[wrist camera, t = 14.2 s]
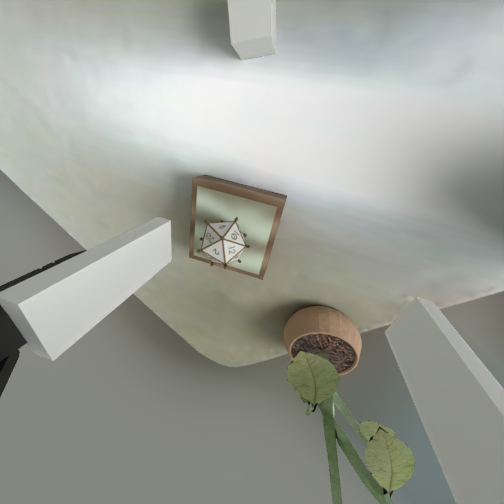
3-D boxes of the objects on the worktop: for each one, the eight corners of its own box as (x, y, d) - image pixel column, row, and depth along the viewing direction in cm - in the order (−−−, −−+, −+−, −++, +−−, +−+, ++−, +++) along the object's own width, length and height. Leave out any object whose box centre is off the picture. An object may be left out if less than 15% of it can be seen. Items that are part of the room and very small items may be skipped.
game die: (228, 230, 39) (181, 244, 34) (241, 199, 33) (184, 211, 27) (252, 265, 37) (204, 287, 31) (271, 240, 30) (215, 262, 24)
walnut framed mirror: (205, 174, 37) (192, 178, 32) (286, 195, 35) (284, 202, 31) (200, 247, 45) (188, 257, 40) (266, 266, 43) (262, 280, 38)
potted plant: (361, 353, 48) (430, 587, 22) (288, 348, 54) (277, 534, 28) (364, 278, 39) (488, 529, 13) (276, 282, 44) (241, 466, 18)
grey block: (238, 10, 26) (226, -19, 21) (276, 1, 25) (270, -31, 20) (241, 60, 28) (230, 43, 24) (276, 54, 27) (271, 35, 23)
